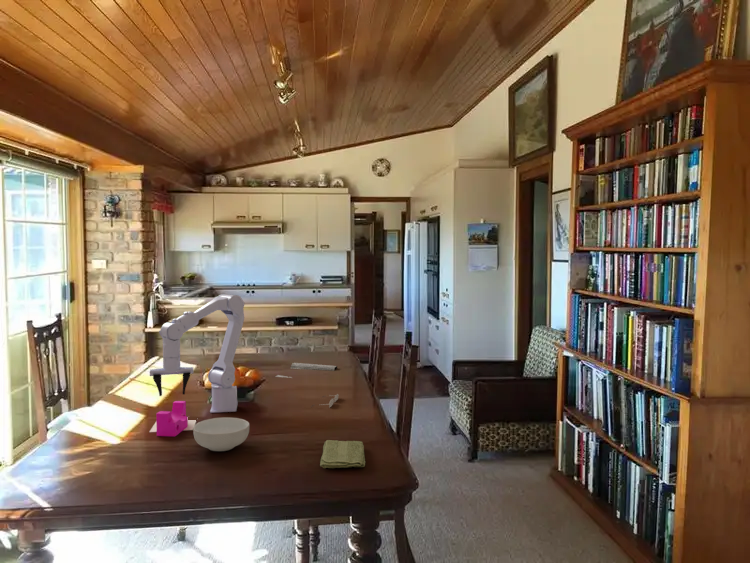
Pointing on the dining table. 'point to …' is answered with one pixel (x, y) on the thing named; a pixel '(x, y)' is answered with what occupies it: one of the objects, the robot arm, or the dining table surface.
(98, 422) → the dining table surface
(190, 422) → the white flat panel
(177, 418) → the toy block
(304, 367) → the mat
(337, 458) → the washcloth
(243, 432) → the cereal bowl
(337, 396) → the eyeglasses
